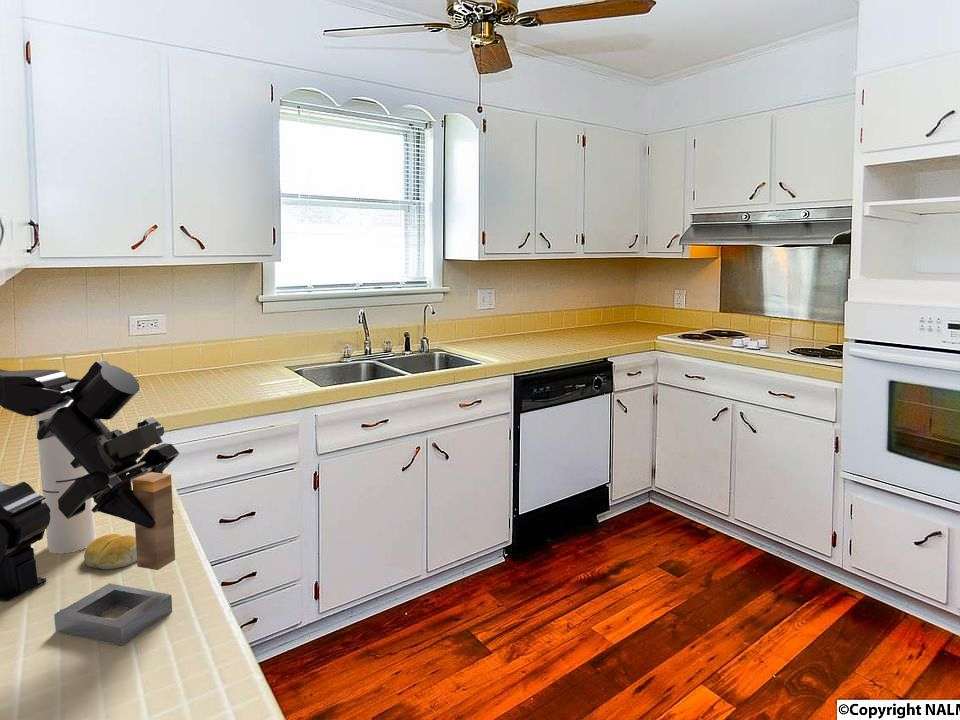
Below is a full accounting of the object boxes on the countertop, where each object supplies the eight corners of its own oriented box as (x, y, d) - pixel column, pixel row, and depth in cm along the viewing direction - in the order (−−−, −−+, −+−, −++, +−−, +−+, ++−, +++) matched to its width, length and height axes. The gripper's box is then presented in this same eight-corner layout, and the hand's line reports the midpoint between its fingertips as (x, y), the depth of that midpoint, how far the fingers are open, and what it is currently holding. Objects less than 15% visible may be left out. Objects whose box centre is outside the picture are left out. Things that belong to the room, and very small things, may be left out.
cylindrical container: (92, 550, 114) (80, 407, 110) (43, 556, 111) (29, 410, 108) (98, 534, 121) (87, 399, 117) (52, 539, 118) (40, 401, 114)
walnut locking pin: (137, 566, 95) (132, 479, 93) (155, 556, 99) (150, 472, 97) (157, 570, 94) (153, 481, 93) (175, 559, 98) (171, 474, 96)
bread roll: (112, 546, 116) (110, 524, 116) (154, 553, 114) (152, 531, 113) (70, 566, 108) (69, 543, 108) (115, 574, 106) (113, 550, 105)
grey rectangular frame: (55, 631, 89) (54, 614, 89) (110, 599, 98) (109, 583, 97) (121, 645, 86) (120, 627, 86) (172, 611, 94) (171, 594, 94)
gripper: (70, 419, 85) (152, 509, 84) (165, 391, 103) (233, 466, 102) (22, 474, 87) (102, 562, 87) (123, 438, 105) (189, 510, 105)
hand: (162, 520), depth 95 cm, fingers closed on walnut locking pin, 4 cm apart
